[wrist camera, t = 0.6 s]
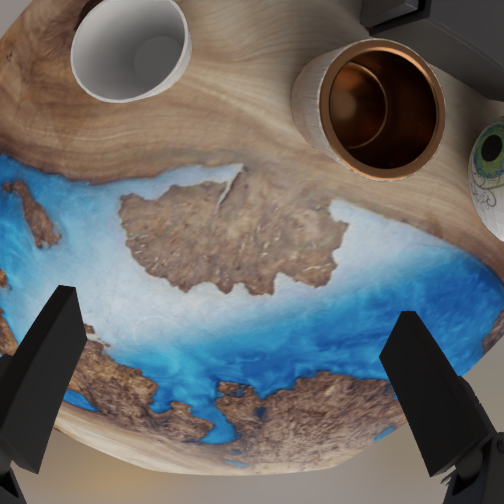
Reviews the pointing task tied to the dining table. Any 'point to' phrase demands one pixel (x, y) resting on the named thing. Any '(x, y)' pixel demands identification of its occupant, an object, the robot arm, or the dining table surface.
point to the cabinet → (456, 40)
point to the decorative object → (489, 177)
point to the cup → (131, 49)
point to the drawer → (388, 10)
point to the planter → (371, 108)
